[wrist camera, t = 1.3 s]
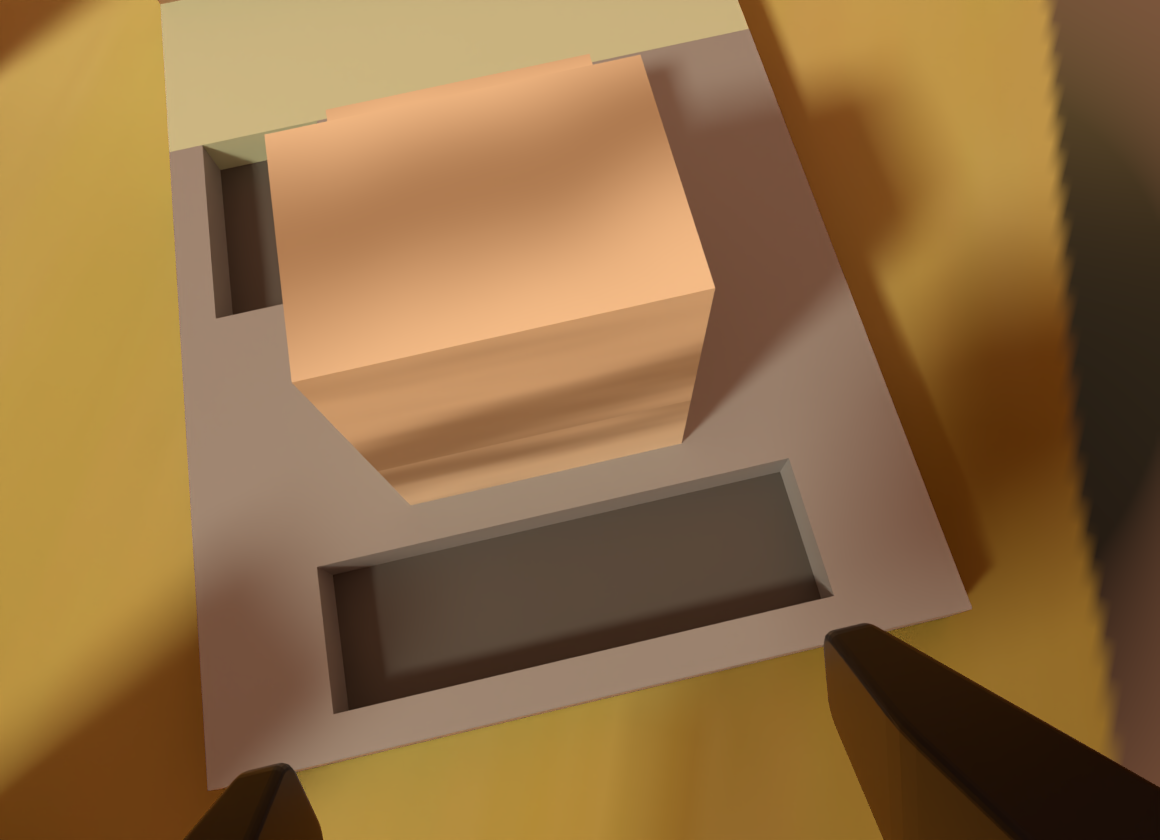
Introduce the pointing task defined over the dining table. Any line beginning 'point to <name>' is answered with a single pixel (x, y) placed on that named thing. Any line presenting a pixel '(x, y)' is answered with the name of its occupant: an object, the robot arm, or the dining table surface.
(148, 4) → the dining table surface
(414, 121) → the birch block
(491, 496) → the board
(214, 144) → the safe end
